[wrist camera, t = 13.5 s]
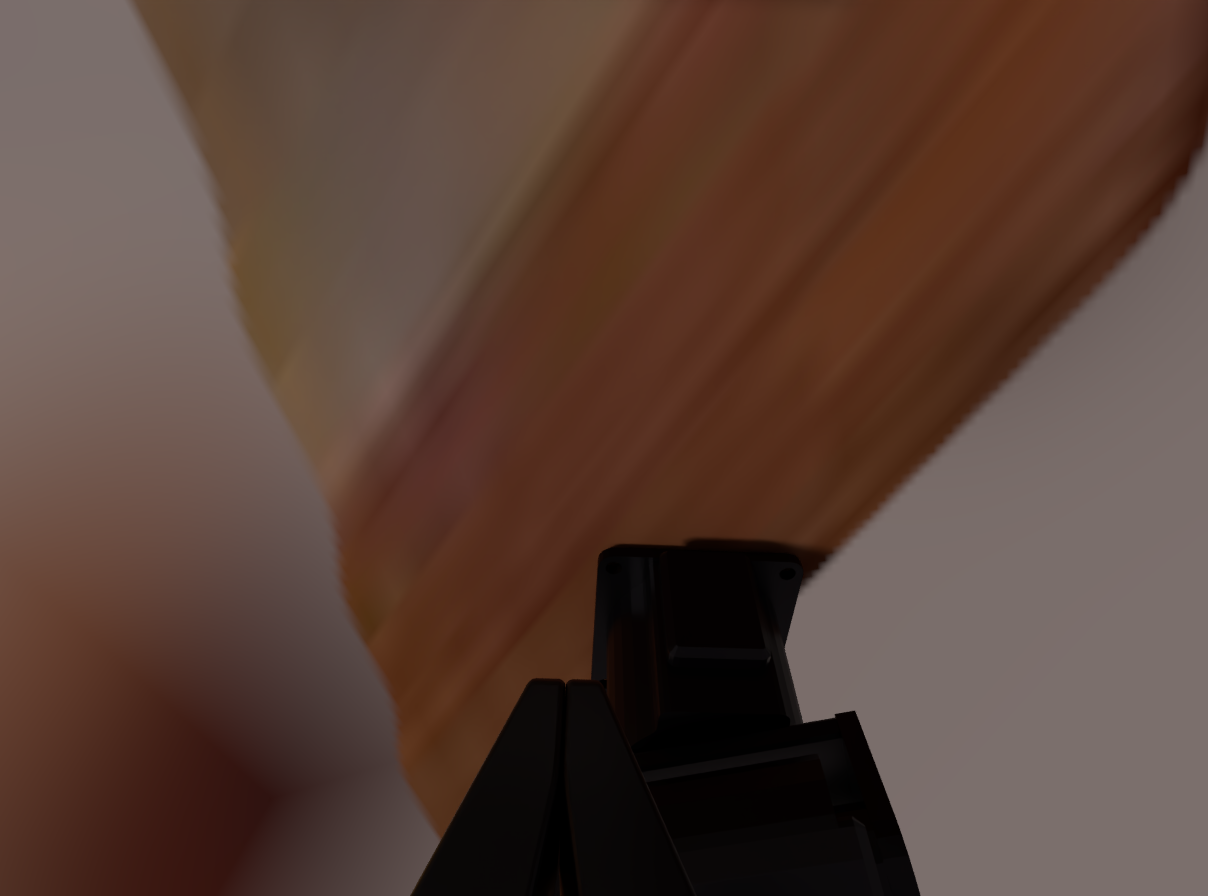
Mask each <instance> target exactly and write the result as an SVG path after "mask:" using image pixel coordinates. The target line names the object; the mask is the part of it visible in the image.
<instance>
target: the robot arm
mask: <svg viewBox="0 0 1208 896" xmlns="http://www.w3.org/2000/svg"><path fill="white" fill-rule="evenodd" d="M611 562H617V563H619V564H618V565H614V566H613V565H609V563H611ZM785 568H791V569H790V570H788V571H781V570H783V569H785ZM802 577H803V568H802V564H801V561H800V560H799V558H798V557H797V556H795V555H793V554H787V553H757V552H728V551H699V550H669V549H640V548H608V549H606V550H604V551H602V552H601V553H600V555H599V558H598V568H597V585H596V602H595V619H594V636H593V654H592V671H591V680H580V679H572V680H569V681H568V682H567V684H566V691H565V683H564V681H562V680H561V679H544V678H535V679H532V680H531V681H530V682H529V683H528V684H527V685H526V687H525V689H524V691H523V693H522V694H521V696H520V698H519V700H518V702H517V703H516V705H515V707H514V709H513V711H512V712H511V714H510V716H509V718H508V720H507V722H506V723H505V725H504V727H503V729H502V731H501V732H500V734H499V736H498V738H497V740H496V741H495V743H494V745H493V747H492V749H491V750H490V752H489V754H488V756H487V758H486V759H485V761H484V763H483V765H482V767H481V769H480V770H479V772H478V774H477V776H476V778H475V779H474V781H473V783H472V785H471V787H470V788H469V790H468V792H467V794H466V796H465V797H464V799H463V801H462V803H461V805H460V806H459V808H458V810H457V812H456V814H455V816H454V817H453V819H452V821H451V823H450V825H449V826H448V828H447V830H446V832H445V834H444V835H443V837H442V839H441V841H440V843H439V844H438V846H437V848H436V850H435V852H434V854H433V855H432V857H431V859H430V861H429V863H428V864H427V866H426V868H425V870H424V872H423V873H422V875H421V877H420V879H419V881H418V882H417V884H416V886H415V888H414V890H413V892H412V893H411V895H410V896H920V892H919V889H918V885H917V882H916V878H915V875H914V872H913V868H912V865H911V862H910V858H909V855H908V852H907V849H906V846H905V843H904V840H903V837H902V834H901V831H900V828H899V825H898V823H897V820H896V817H895V814H894V812H893V809H892V807H891V804H890V801H889V799H888V796H887V793H886V791H885V788H884V785H883V783H882V780H881V778H880V775H879V772H878V770H877V767H876V764H875V762H874V759H873V757H872V754H871V751H870V749H869V746H868V743H867V741H866V738H865V735H864V733H863V730H862V728H861V725H860V722H859V720H858V717H857V714H856V712H855V711H850V712H844V713H839V714H835V718H831V719H825V720H819V721H813V722H808V723H803V720H802V716H801V713H800V709H799V704H798V701H797V696H796V693H795V689H794V684H793V680H792V676H791V673H790V669H789V664H788V661H787V657H786V653H785V649H784V648H785V644H786V640H787V636H788V632H789V628H790V624H791V620H792V616H793V613H794V608H795V605H796V601H797V597H798V593H799V589H800V585H801V581H802ZM604 679H606V680H604Z"/></svg>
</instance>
